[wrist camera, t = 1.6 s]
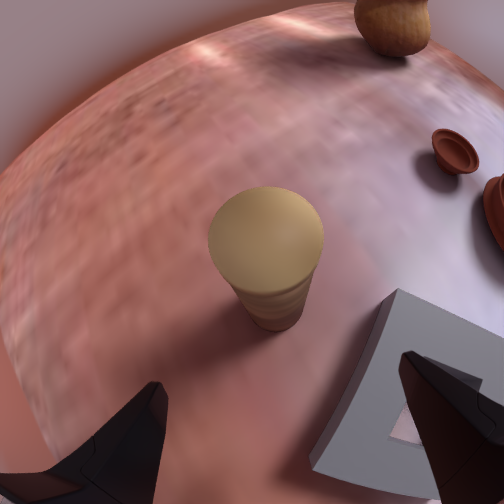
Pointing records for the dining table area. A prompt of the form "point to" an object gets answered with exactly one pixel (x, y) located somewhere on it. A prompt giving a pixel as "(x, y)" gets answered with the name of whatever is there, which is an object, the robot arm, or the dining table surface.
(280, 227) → the tan wooden cylinder
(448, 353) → the socket block
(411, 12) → the butternut squash
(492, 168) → the dining table surface
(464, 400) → the robot arm
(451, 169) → the pottery
